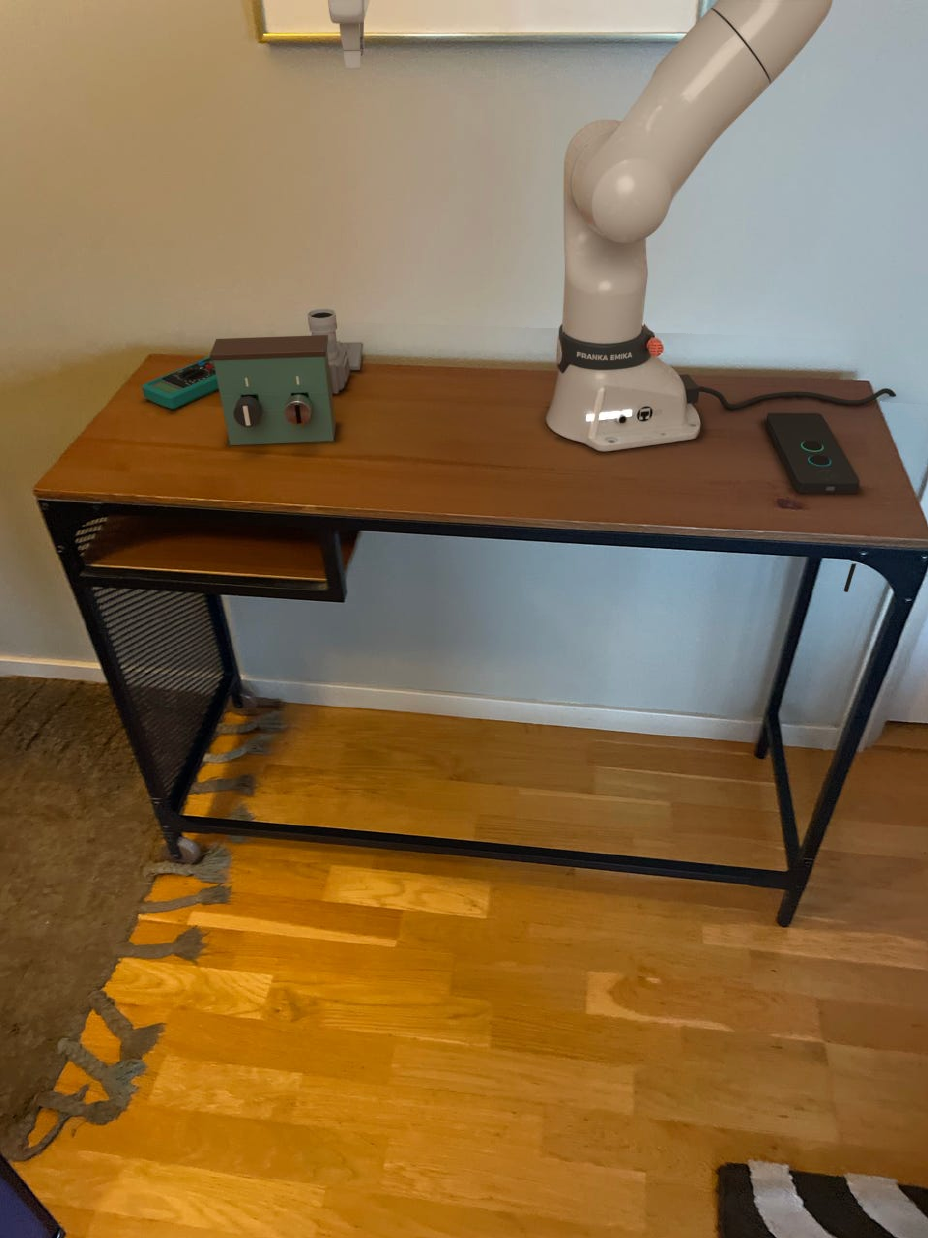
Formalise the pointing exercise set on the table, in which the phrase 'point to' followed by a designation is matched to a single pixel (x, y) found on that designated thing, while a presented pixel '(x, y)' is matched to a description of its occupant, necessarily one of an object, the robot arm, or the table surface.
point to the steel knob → (298, 409)
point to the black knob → (247, 411)
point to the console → (275, 386)
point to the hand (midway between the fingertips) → (355, 61)
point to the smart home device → (811, 454)
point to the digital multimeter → (183, 385)
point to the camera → (335, 347)
